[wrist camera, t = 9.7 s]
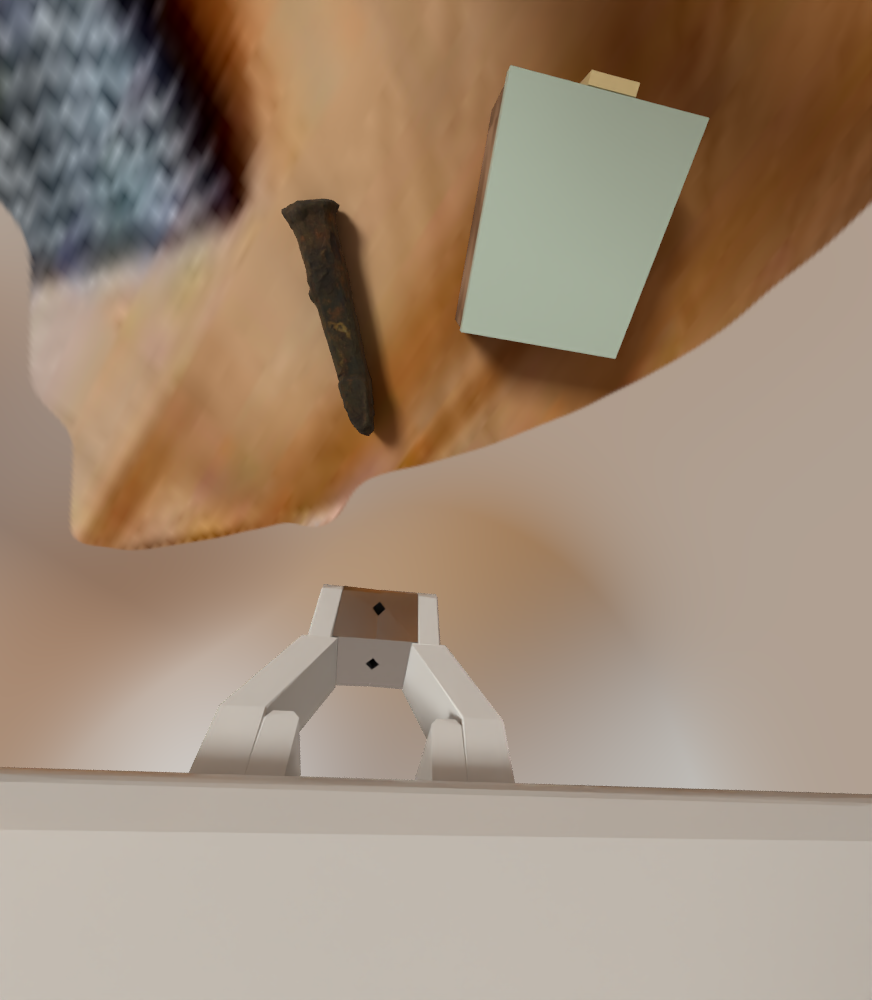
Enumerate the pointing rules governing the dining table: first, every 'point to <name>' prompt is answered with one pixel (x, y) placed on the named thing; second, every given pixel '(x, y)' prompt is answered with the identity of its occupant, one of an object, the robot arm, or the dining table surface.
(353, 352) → the dark brown rough bar
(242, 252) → the dining table surface
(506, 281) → the lid
